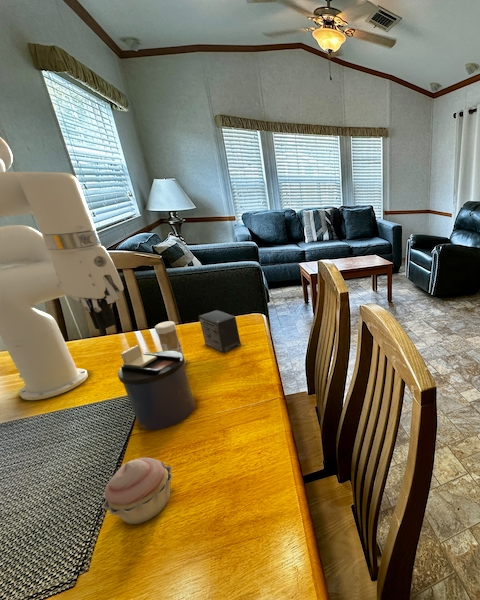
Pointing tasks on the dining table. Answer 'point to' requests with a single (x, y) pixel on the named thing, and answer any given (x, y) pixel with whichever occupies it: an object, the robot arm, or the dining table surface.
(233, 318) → the small box
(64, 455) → the dining table surface
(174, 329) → the sprinkles bottle
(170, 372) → the dark blue canister
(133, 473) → the cupcake
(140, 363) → the slider
